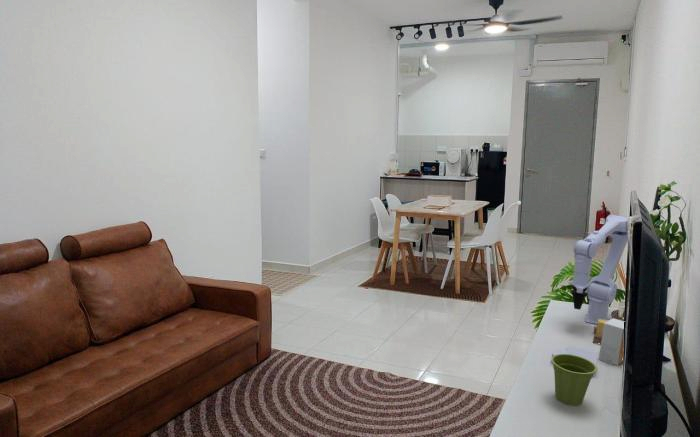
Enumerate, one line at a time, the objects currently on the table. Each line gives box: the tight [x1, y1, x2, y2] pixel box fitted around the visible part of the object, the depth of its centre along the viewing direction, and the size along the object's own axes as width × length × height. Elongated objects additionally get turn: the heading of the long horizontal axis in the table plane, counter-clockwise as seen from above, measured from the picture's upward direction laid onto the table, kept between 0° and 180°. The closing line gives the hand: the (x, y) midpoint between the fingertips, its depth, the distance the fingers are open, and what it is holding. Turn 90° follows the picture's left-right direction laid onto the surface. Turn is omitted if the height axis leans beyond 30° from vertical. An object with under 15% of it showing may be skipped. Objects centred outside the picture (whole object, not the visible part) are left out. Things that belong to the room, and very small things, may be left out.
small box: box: [598, 317, 625, 366], centre depth 175 cm, size 8×6×13 cm
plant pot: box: [550, 354, 598, 407], centre depth 147 cm, size 12×12×11 cm
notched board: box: [592, 326, 602, 345], centre depth 192 cm, size 11×8×2 cm
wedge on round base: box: [550, 345, 598, 366], centre depth 169 cm, size 9×7×13 cm
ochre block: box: [596, 319, 609, 335], centre depth 192 cm, size 4×4×7 cm
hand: (577, 305), depth 200 cm, fingers open, 7 cm apart
